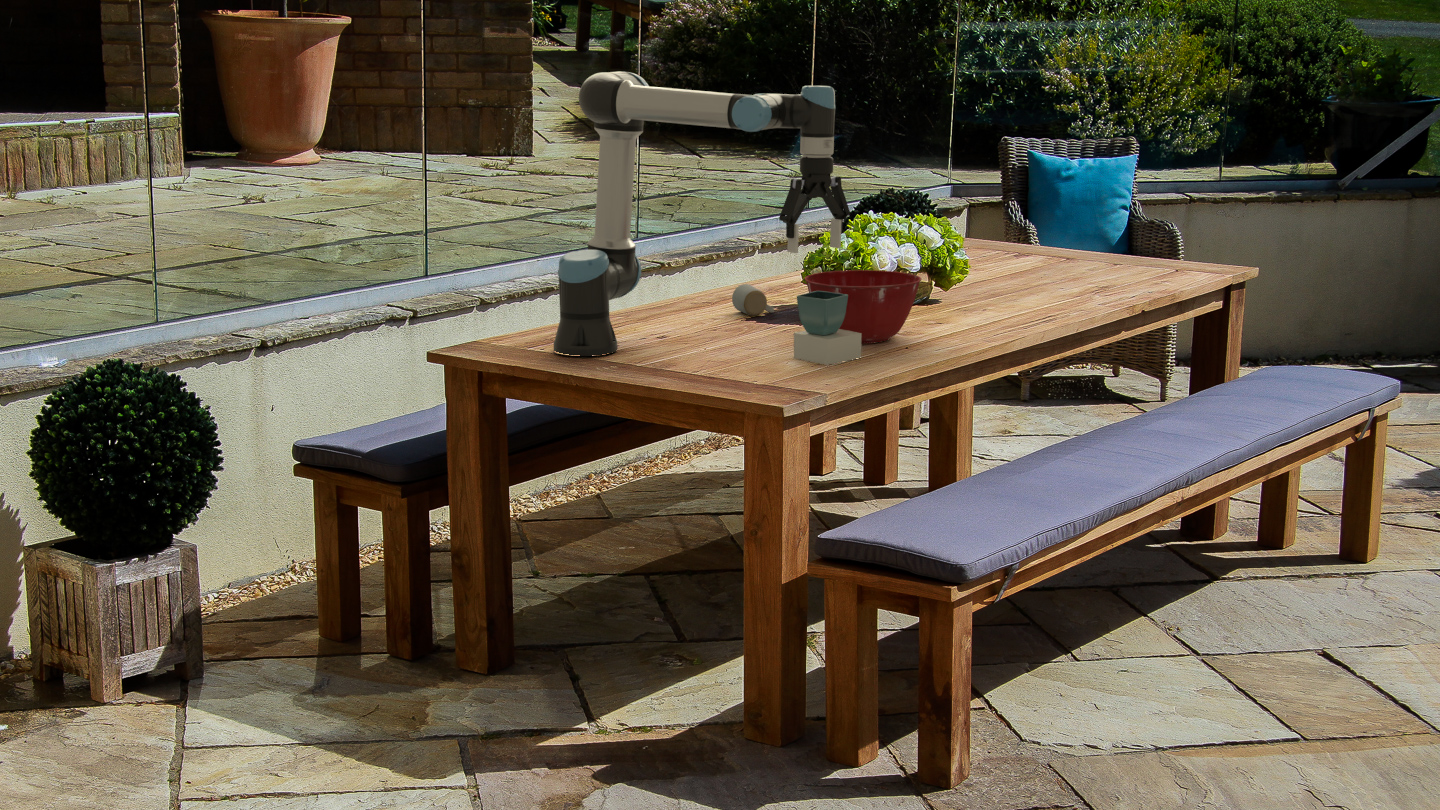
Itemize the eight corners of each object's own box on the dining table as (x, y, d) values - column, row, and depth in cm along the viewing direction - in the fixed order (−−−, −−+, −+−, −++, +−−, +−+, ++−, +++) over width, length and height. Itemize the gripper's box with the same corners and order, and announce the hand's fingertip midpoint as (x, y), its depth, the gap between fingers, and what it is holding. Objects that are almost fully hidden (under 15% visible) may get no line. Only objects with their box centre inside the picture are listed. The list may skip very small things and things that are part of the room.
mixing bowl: (786, 332, 366) (786, 272, 362) (887, 324, 375) (888, 265, 372) (833, 354, 340) (834, 288, 336) (940, 345, 350) (942, 281, 346)
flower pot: (826, 338, 327) (827, 299, 325) (795, 334, 332) (795, 295, 330) (848, 332, 334) (849, 294, 331) (817, 328, 339) (817, 290, 337)
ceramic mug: (744, 317, 387) (744, 289, 385) (731, 312, 394) (731, 284, 392) (779, 315, 391) (780, 286, 389) (766, 310, 398) (766, 282, 396)
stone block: (827, 365, 327) (827, 339, 326) (793, 357, 335) (793, 332, 334) (861, 358, 334) (861, 333, 333) (827, 351, 342) (827, 326, 341)
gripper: (788, 159, 315) (785, 256, 320) (867, 154, 330) (864, 247, 336) (764, 157, 320) (762, 252, 325) (843, 152, 336) (840, 243, 341)
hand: (814, 250), depth 330 cm, fingers open, 13 cm apart
